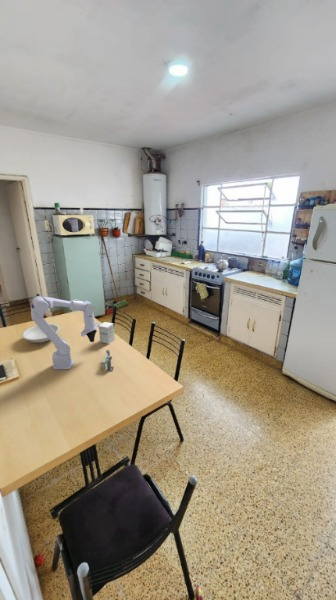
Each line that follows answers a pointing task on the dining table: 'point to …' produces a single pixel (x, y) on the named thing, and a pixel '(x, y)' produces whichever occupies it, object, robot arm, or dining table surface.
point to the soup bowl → (38, 334)
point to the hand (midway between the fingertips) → (92, 341)
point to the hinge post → (109, 354)
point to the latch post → (109, 366)
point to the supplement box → (106, 332)
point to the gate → (105, 360)
